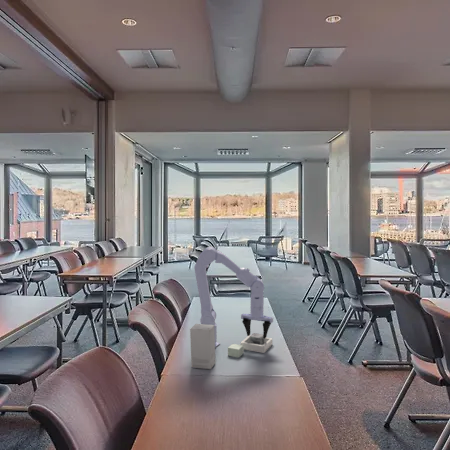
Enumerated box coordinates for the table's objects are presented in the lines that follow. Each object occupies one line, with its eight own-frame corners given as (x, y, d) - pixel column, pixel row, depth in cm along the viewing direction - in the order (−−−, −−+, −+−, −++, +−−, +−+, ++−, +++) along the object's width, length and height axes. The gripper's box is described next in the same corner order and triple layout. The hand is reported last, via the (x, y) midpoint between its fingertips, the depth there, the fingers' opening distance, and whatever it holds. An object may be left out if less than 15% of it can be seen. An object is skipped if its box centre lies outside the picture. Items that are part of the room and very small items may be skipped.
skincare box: (215, 363, 149) (215, 324, 148) (210, 370, 143) (210, 329, 142) (195, 361, 151) (195, 322, 151) (189, 367, 145) (189, 327, 144)
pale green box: (238, 357, 155) (238, 349, 155) (227, 355, 157) (227, 347, 157) (243, 353, 160) (243, 345, 160) (232, 351, 162) (232, 343, 162)
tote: (264, 353, 160) (264, 346, 160) (240, 348, 165) (240, 342, 164) (272, 344, 170) (272, 338, 170) (249, 340, 175) (249, 334, 174)
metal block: (260, 348, 164) (260, 338, 164) (249, 346, 166) (249, 336, 166) (264, 344, 168) (264, 334, 168) (253, 342, 171) (253, 333, 170)
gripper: (275, 305, 167) (275, 336, 168) (245, 302, 173) (244, 331, 174) (270, 309, 161) (270, 341, 161) (239, 305, 167) (239, 336, 167)
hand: (256, 336), depth 167 cm, fingers open, 7 cm apart
